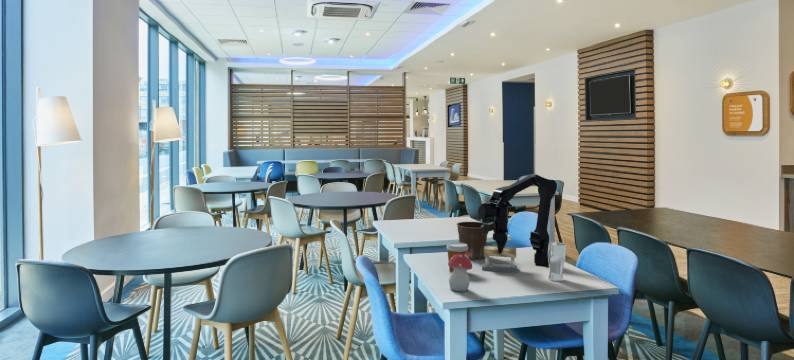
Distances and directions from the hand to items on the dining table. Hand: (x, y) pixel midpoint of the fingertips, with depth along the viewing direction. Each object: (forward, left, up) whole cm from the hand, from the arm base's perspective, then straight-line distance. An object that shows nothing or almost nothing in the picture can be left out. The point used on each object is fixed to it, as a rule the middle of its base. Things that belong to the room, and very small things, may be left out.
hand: (500, 252), depth 214 cm
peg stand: (0, 0, -8) cm, 8 cm away
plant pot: (+14, -20, -8) cm, 26 cm away
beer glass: (-23, +10, -8) cm, 26 cm away
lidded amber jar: (+18, +9, -8) cm, 22 cm away
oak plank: (0, 0, -1) cm, 1 cm away
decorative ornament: (+14, +34, -8) cm, 38 cm away
